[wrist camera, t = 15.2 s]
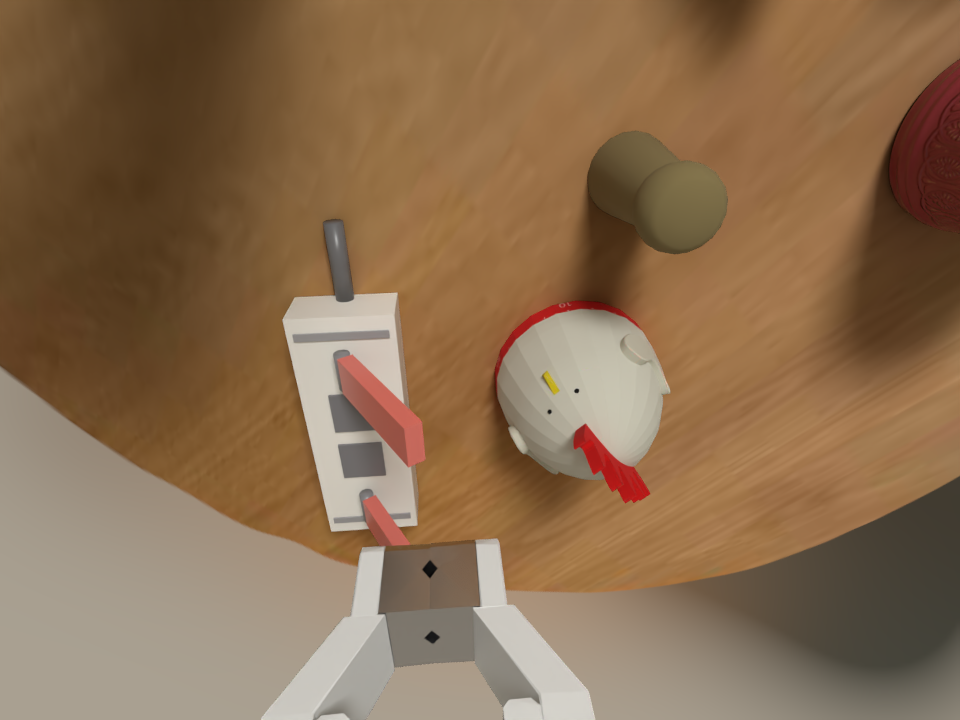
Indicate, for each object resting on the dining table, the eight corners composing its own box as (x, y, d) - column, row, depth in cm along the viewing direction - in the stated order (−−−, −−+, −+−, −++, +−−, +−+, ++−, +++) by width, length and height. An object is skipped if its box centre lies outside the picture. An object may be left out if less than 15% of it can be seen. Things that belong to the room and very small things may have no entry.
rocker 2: (357, 492, 46) (418, 585, 38) (369, 486, 46) (433, 576, 38) (361, 516, 47) (421, 610, 39) (373, 511, 48) (435, 602, 40)
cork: (609, 232, 40) (663, 287, 31) (572, 164, 38) (619, 202, 28) (681, 186, 39) (760, 230, 30) (648, 112, 36) (724, 134, 27)
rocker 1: (330, 352, 39) (404, 428, 31) (345, 348, 39) (421, 421, 31) (336, 386, 40) (408, 467, 32) (351, 381, 41) (425, 459, 33)
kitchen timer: (586, 267, 42) (654, 364, 29) (678, 369, 48) (768, 488, 35) (462, 373, 46) (473, 499, 33) (559, 455, 52) (601, 590, 39)
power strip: (278, 221, 38) (262, 239, 35) (389, 217, 39) (385, 234, 35) (338, 499, 52) (330, 533, 49) (418, 494, 53) (417, 527, 49)
